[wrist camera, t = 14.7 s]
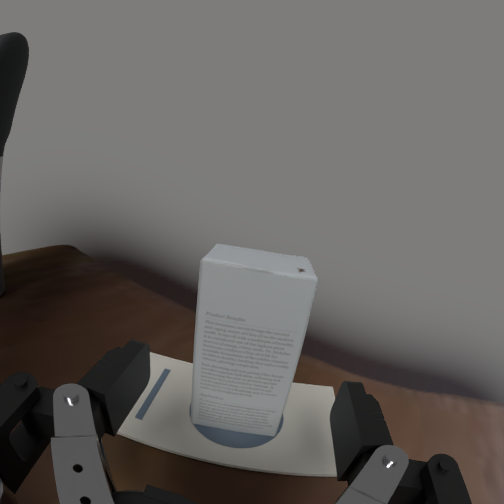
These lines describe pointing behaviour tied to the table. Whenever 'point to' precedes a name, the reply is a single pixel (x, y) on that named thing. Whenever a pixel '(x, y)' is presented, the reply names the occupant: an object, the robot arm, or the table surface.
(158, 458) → the table surface
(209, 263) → the skincare box
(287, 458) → the paper sheet
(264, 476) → the table surface
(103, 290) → the table surface
